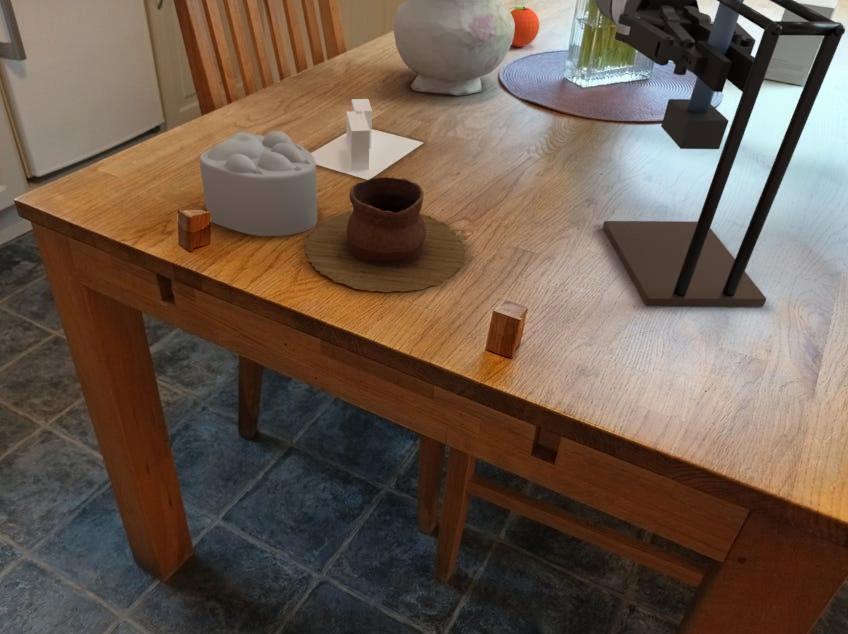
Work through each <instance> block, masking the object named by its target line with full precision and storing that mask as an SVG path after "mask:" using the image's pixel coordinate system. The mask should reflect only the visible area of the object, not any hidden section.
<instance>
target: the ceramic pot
mask: <svg viewBox="0 0 848 634" xmlns="http://www.w3.org/2000/svg"><path fill="white" fill-rule="evenodd" d="M424 196H425V195H424V190H423V188H422V186H421V185H420V184H419V183H417V182H413V181H411V179H408V178H404V177H403V178H397V177H390V176H379V177H373V178H370V179H369V180H365V181H361V182H356V184H354V185H352V186H351V188H350V189H349V193H348V198H349V200H350V203H351V205H352V209H353V210H352V211H351V212H349V213H346V214H341V215H339V216H334V217H333V218H331V219H329V220H328V221H325V222H323V223H322V224H320V225H318V227H317V228H316V229H315V230H314V231H312V232H311V234H310V235H309V236H308V238H307V239H306V241H307V242H306V243H305V244H304V248H305V249H304V254H305V255H306V257H307V262H308V263H311V266H312V267H314V269H315V271H318V272H319V274H321V275H323V276H326V277H327V278H329V279H331V280H332V281H333V282H334V283H335V284H336V283H338V284H344V285H345V286H347V287H351V288H352V289H355V290H362V291H369V292H375V291H377V292H383V293H390V292H391V293H392V292H401V293H405V292H413V291H419V290H420V291H422V290H424V289H425V288H429V287H432V286H439V285H441V284H443V283H444V281H445V279H448V278H450V277H452V276H453V275H455V274H456V272H457V271H460V269H461V268H462V265H464V264H465V263H464V262H465V261H466V260H467V256H466V253H467V249H466V248H465V247H466V244H465V243H464V242H463V241H462V240H461V236H460V235H458V234H457V233H456V232H455V231H454V229H449V225H448V224H447V223H446V222H444V221H441V220H438V219H436V218H435V217H432V216H430V215H426V214H423V213H421V211H422V207H423V202H424Z"/></svg>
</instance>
